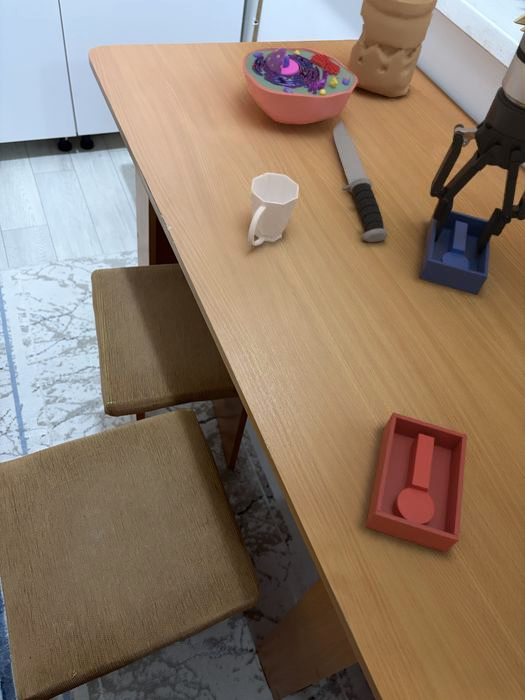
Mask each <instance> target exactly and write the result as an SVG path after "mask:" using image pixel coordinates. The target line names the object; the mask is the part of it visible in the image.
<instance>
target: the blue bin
mask: <svg viewBox="0 0 525 700" xmlns="http://www.w3.org/2000/svg"><path fill="white" fill-rule="evenodd" d="M433 215H434V212H432V215H431V216H430V217H431V218H430V220H429V221H428V225H427V231H426V237H425V242H424V247H423V248H424V249H423V254H422V260H421V266H420V272H419V277H418V278H419V279H420V280H424V281H427V282H431V283H434V284H438V285H441V286H444V287H445V286H446V287H448V288H452V289H455V290H459V291H463V292H467V293H470V294H473V295H478V294H479V292H480V291H481V289H482V288H483V286H484V284H485V282H486V280H487V279H488V277H489V266H490V265H489V263H490V250H491V249H490V247H491V239H490V240H489V242H488V244H487V245H486V247H485V249H484V251H483V252H482V254H481V255H480V254H477V253H476V250H477V241H478V239H479V237H480V236H481V234H482V232H483V230H484V228H485V226H486V224H487V223H488V221H489V219H485V218H482V217H479V216H474V215H472V214H471V215H470V214H467V213H462V212H459V211H456V210H453V209H452V210H451V212H450V214H449V217H448V219H447V221H446V223H445V225H444V227H443V229H442V232H441V234H440V236H439V238H438V240H437V242H434V240H435V233H436V227H437V221H438V220H435V219H433ZM456 221H460V222H463V223H467V224H468V226H467V235H466V245H465V252H464V254H463V256H464V257H466V258H467V260H468V261H469V268H468V269H466V268H462V267H458V266H455V265H451V264H448V263H444V262H441V259H442V257H443V255H444V254H445V253H447V252H448V245H449V237H450V232H451V230H452V228H453V226H454V224H455V222H456Z"/></svg>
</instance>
